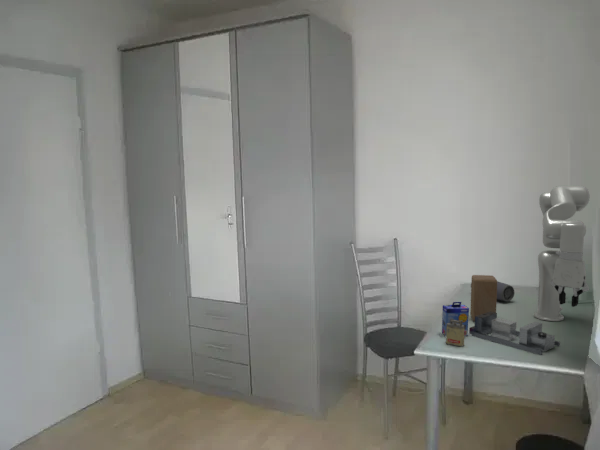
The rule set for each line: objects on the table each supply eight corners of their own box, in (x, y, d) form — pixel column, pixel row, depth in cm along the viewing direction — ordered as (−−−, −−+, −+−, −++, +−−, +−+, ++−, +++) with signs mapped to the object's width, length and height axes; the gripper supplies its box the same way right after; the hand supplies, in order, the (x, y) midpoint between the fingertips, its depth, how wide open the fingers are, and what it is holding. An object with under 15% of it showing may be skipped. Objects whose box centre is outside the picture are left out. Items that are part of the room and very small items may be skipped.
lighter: (444, 343, 202) (445, 319, 200) (447, 341, 205) (448, 317, 204) (462, 347, 198) (463, 322, 197) (465, 344, 201) (466, 319, 200)
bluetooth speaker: (469, 294, 279) (470, 276, 278) (482, 292, 283) (482, 275, 282) (501, 304, 258) (502, 285, 257) (514, 302, 262) (515, 283, 261)
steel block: (497, 333, 214) (498, 317, 213) (515, 338, 207) (516, 322, 207) (491, 336, 210) (491, 319, 210) (509, 341, 204) (510, 324, 203)
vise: (487, 326, 223) (487, 309, 222) (560, 345, 198) (561, 326, 198) (466, 334, 213) (467, 316, 212) (540, 355, 189) (541, 334, 188)
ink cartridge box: (445, 336, 210) (446, 302, 208) (440, 332, 215) (441, 299, 214) (468, 336, 210) (469, 302, 209) (463, 331, 216) (464, 298, 214)
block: (496, 323, 227) (497, 279, 225) (472, 322, 229) (474, 278, 227) (492, 316, 237) (493, 275, 235) (470, 315, 239) (471, 274, 237)
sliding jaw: (534, 339, 205) (534, 321, 204) (556, 345, 198) (557, 327, 197) (518, 346, 197) (519, 327, 196) (541, 352, 190) (542, 333, 189)
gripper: (543, 254, 189) (541, 302, 191) (590, 260, 176) (587, 311, 178) (552, 252, 194) (550, 298, 196) (599, 258, 181) (596, 307, 183)
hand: (568, 304), depth 187 cm, fingers open, 3 cm apart
